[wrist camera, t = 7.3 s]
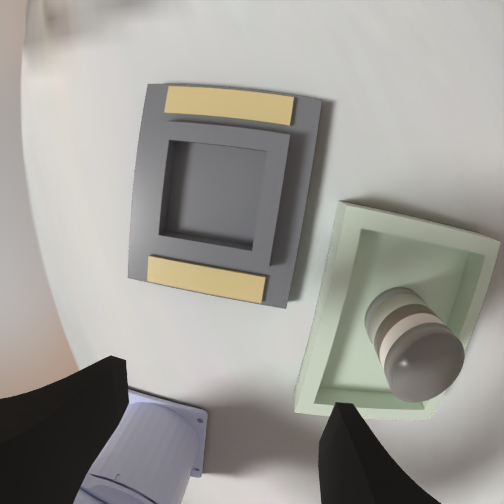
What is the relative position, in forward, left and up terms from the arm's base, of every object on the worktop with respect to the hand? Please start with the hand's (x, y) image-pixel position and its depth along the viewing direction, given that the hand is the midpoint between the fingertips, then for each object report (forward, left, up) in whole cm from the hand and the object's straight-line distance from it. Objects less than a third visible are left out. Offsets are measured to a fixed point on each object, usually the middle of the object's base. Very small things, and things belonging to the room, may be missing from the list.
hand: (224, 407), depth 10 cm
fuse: (0, -9, -10) cm, 13 cm away
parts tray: (0, -9, -10) cm, 14 cm away
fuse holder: (+6, +3, -10) cm, 12 cm away
